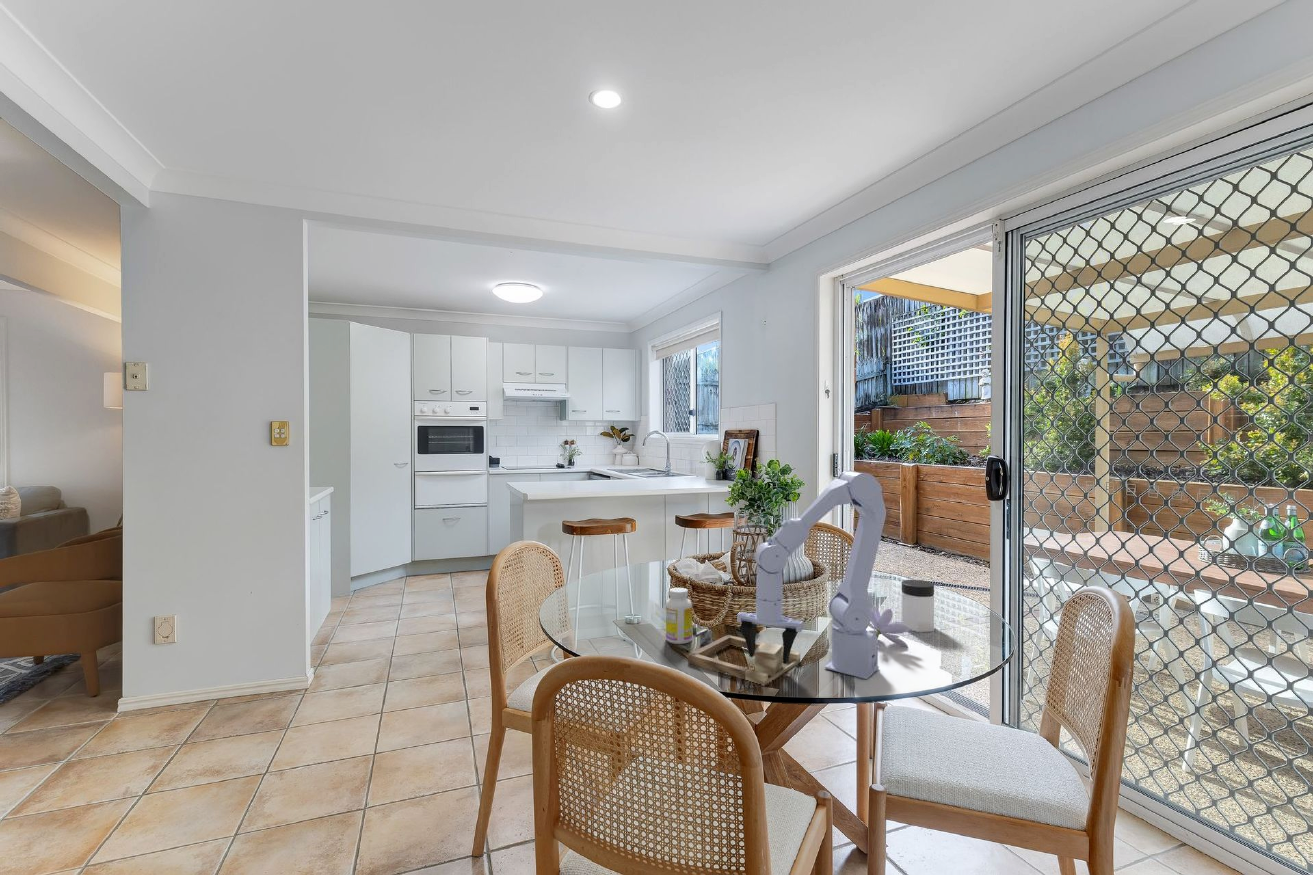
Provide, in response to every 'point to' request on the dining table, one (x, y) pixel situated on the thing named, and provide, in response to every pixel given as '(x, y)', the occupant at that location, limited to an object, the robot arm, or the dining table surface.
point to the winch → (703, 636)
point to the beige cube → (768, 658)
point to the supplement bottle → (678, 617)
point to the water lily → (887, 626)
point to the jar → (918, 605)
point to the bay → (703, 660)
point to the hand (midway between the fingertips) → (768, 658)
